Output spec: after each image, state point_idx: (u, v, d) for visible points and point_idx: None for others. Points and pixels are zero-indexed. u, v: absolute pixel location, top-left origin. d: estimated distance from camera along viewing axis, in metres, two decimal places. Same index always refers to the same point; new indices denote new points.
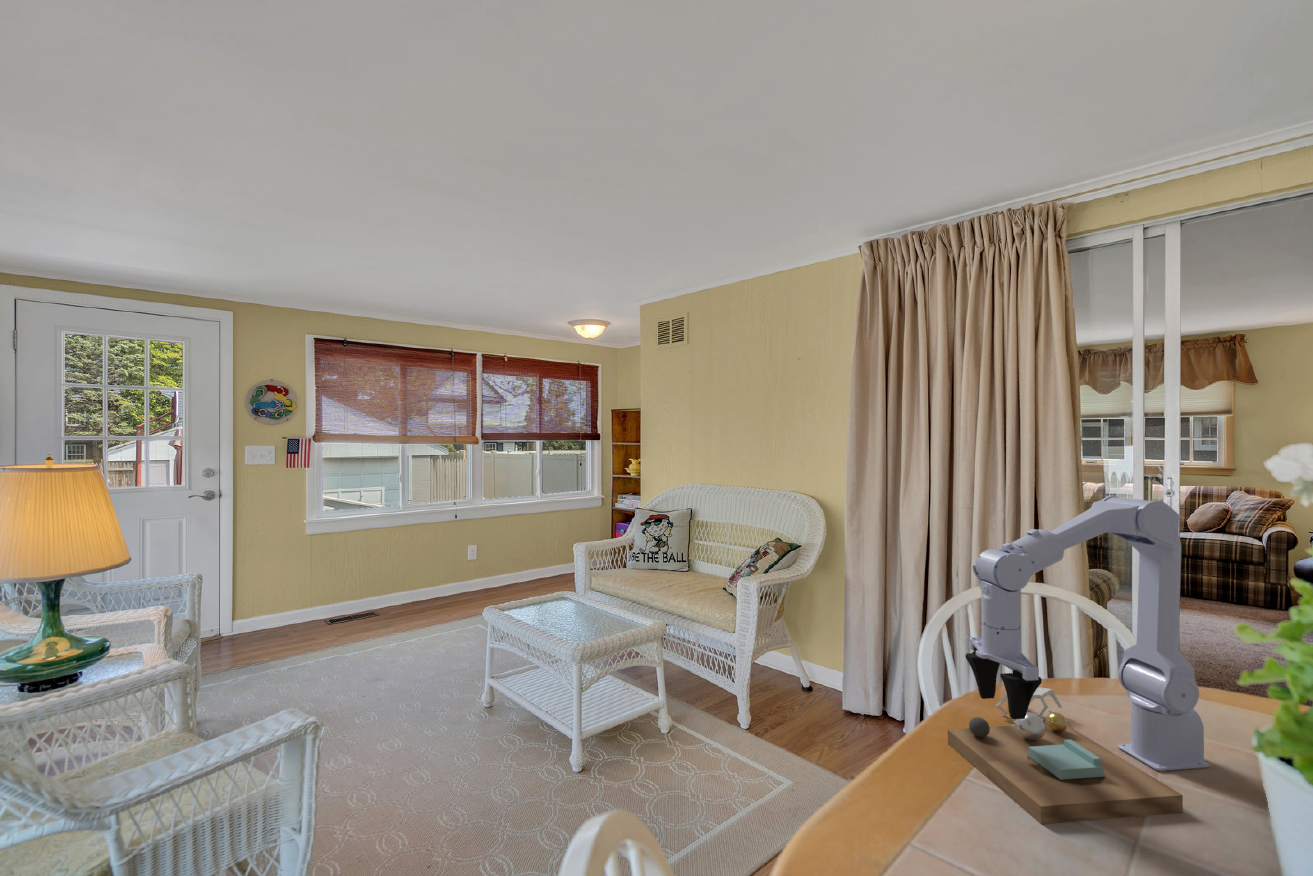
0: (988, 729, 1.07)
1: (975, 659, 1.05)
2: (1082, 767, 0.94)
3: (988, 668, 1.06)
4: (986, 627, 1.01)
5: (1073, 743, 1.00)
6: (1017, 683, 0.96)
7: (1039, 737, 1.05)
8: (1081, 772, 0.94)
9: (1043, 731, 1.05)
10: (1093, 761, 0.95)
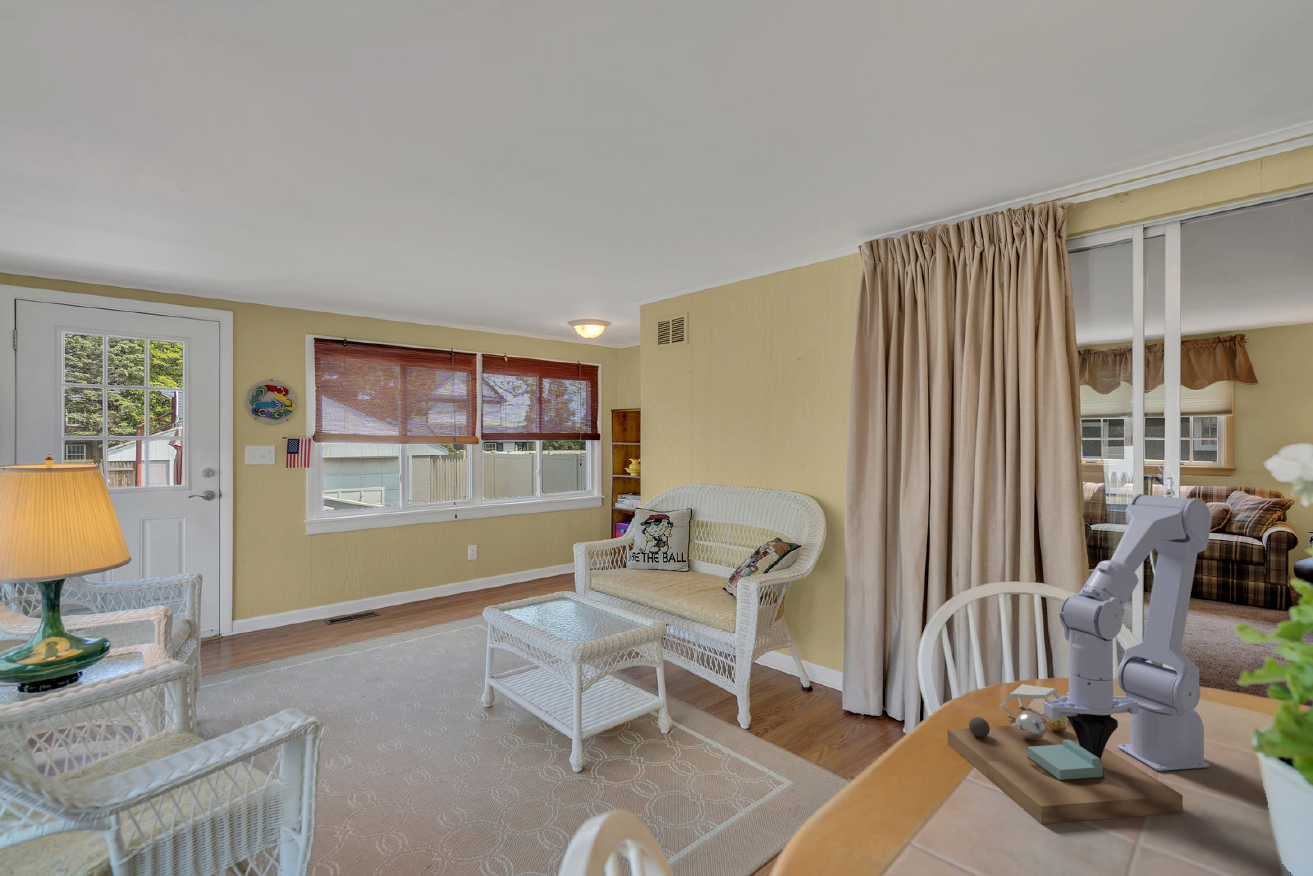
0: (988, 729, 1.07)
1: None
2: (1081, 767, 0.94)
3: None
4: None
5: (1072, 743, 1.00)
6: (1068, 715, 0.99)
7: (1039, 737, 1.05)
8: (1080, 772, 0.94)
9: (1043, 731, 1.05)
10: (1092, 761, 0.95)
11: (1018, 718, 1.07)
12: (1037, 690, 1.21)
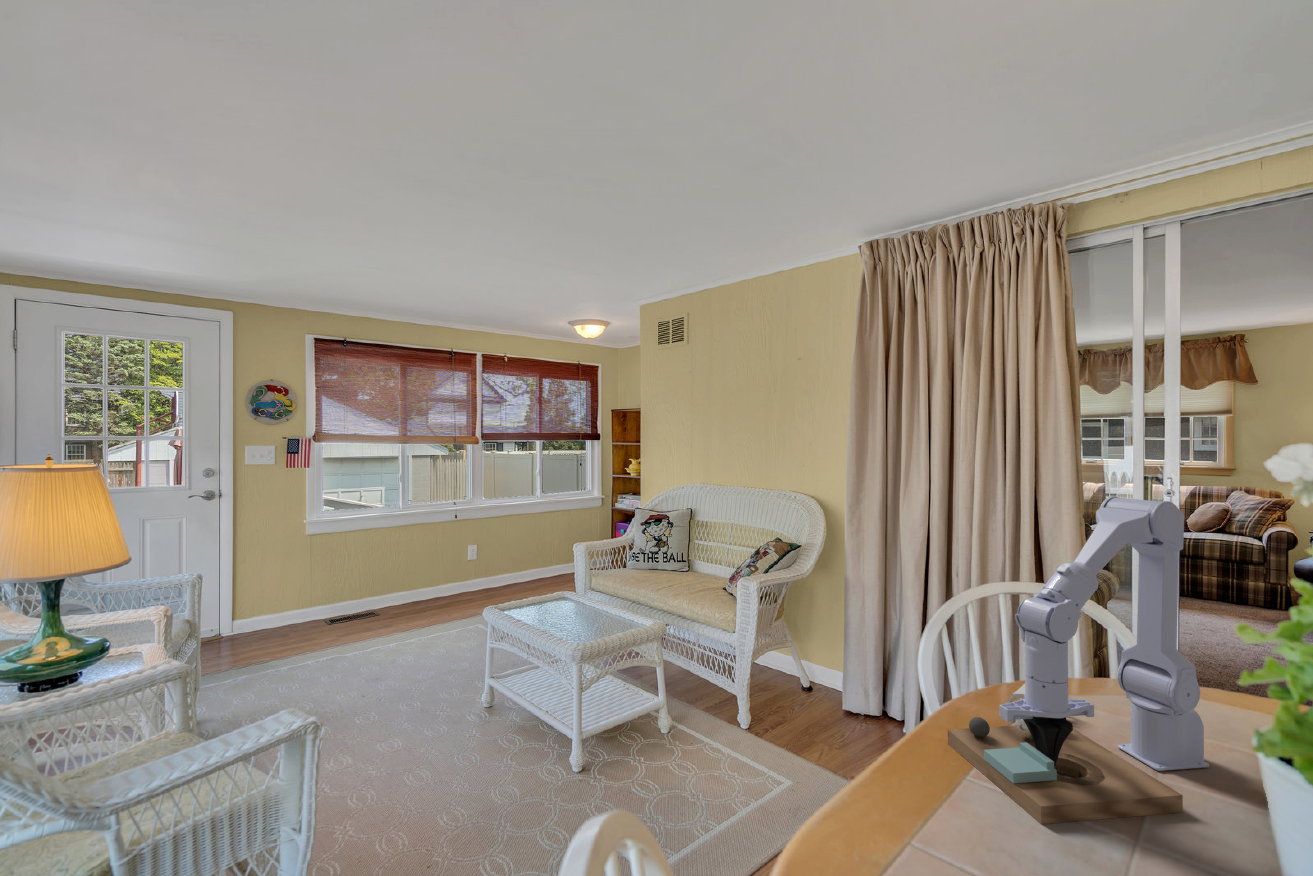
0: (988, 729, 1.07)
1: None
2: (1035, 771, 0.94)
3: None
4: None
5: (1028, 746, 0.99)
6: (1024, 718, 0.99)
7: None
8: (1034, 776, 0.93)
9: None
10: (1046, 764, 0.94)
11: None
12: None
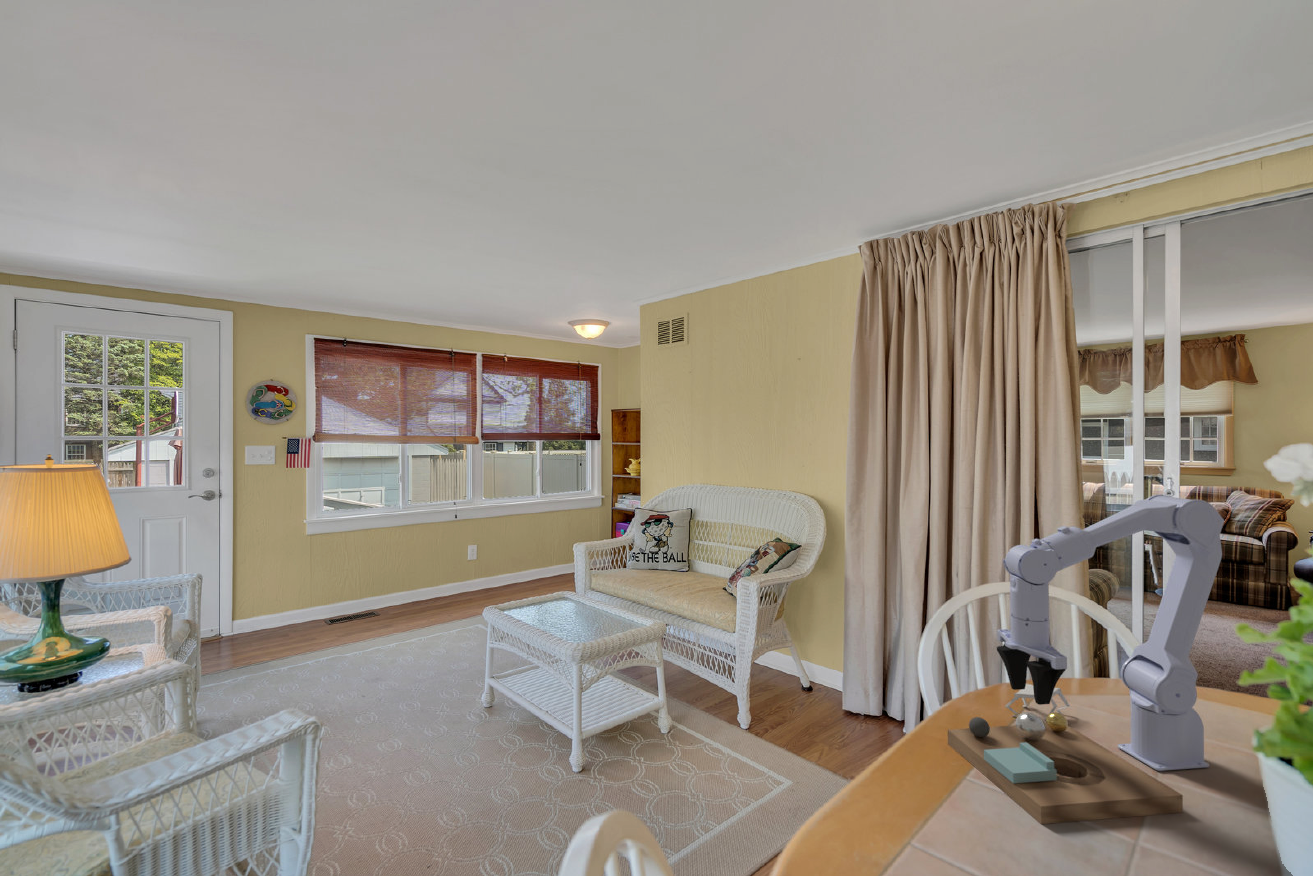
0: (988, 729, 1.07)
1: (1007, 651, 1.09)
2: (1035, 771, 0.94)
3: (1019, 660, 1.10)
4: (1015, 619, 1.06)
5: (1028, 746, 0.99)
6: (1043, 670, 1.01)
7: (1039, 737, 1.05)
8: (1034, 776, 0.93)
9: (1043, 731, 1.05)
10: (1046, 764, 0.94)
11: (1018, 718, 1.07)
12: None
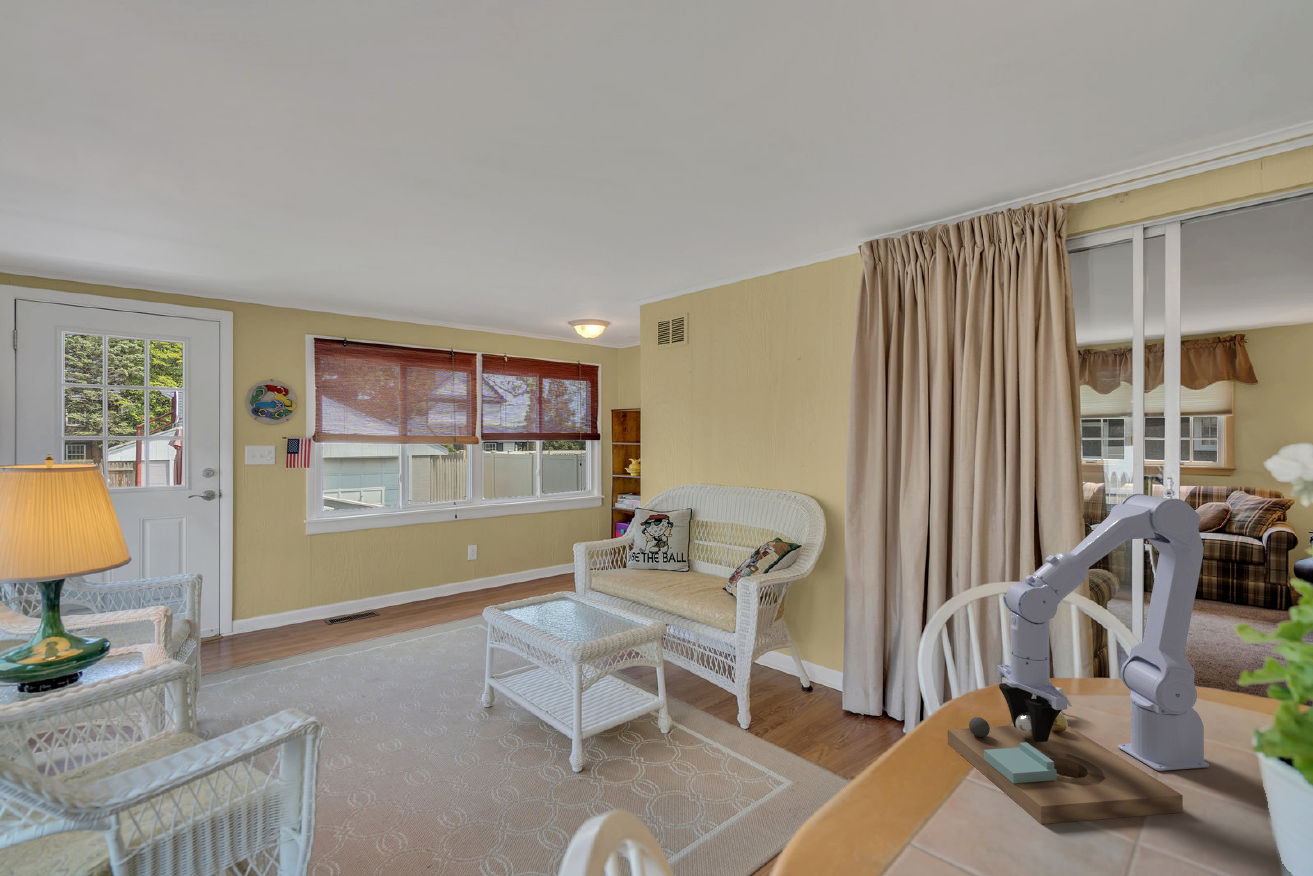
0: (988, 729, 1.07)
1: (1009, 690, 1.09)
2: (1035, 771, 0.94)
3: (1021, 698, 1.09)
4: (1015, 657, 1.06)
5: (1028, 746, 0.99)
6: (1041, 708, 1.02)
7: None
8: (1034, 776, 0.93)
9: None
10: (1046, 764, 0.94)
11: (1018, 718, 1.07)
12: None
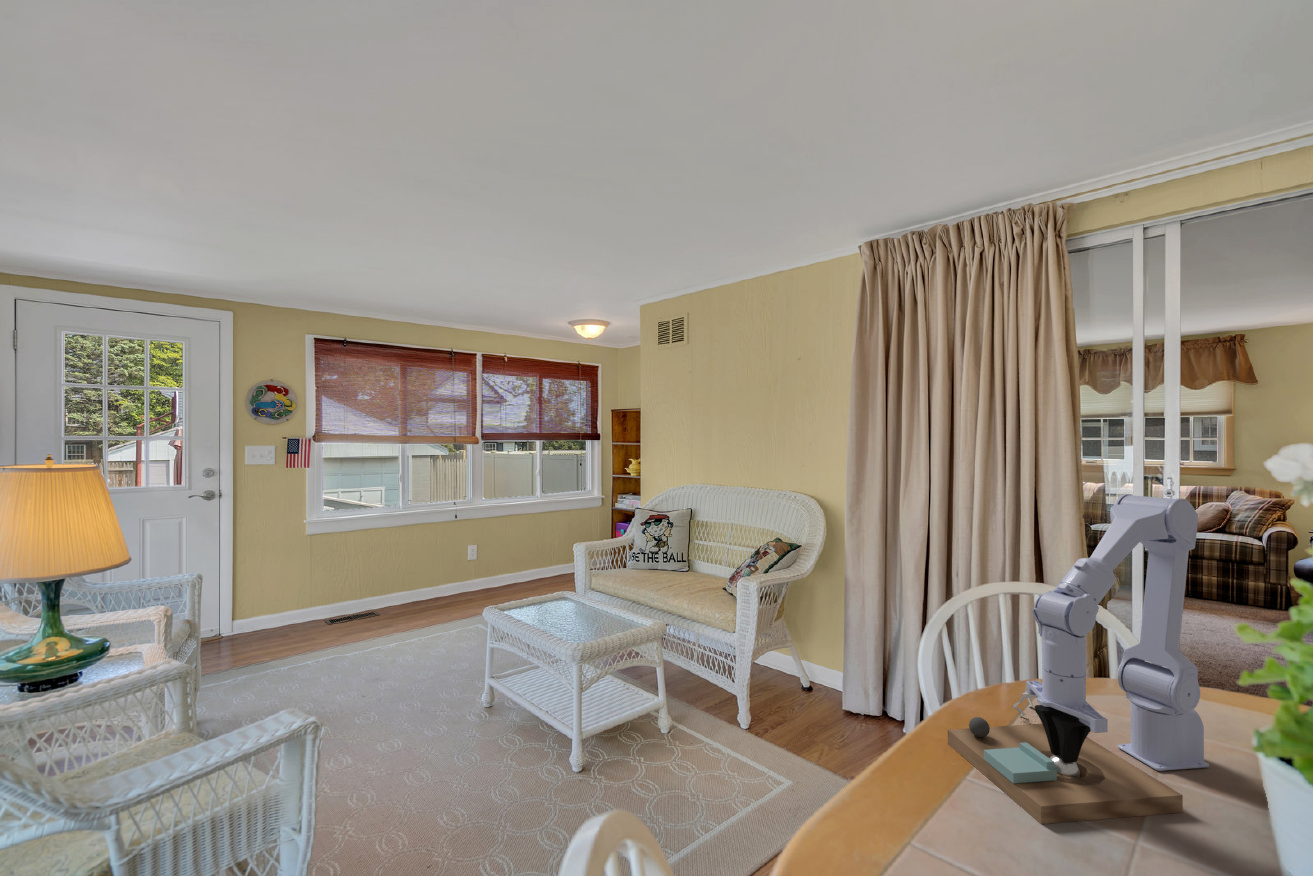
0: (988, 729, 1.07)
1: (1046, 712, 0.98)
2: (1035, 771, 0.94)
3: None
4: (1048, 673, 0.97)
5: (1028, 746, 0.99)
6: (1070, 726, 0.94)
7: None
8: (1034, 776, 0.93)
9: None
10: (1046, 764, 0.94)
11: None
12: None
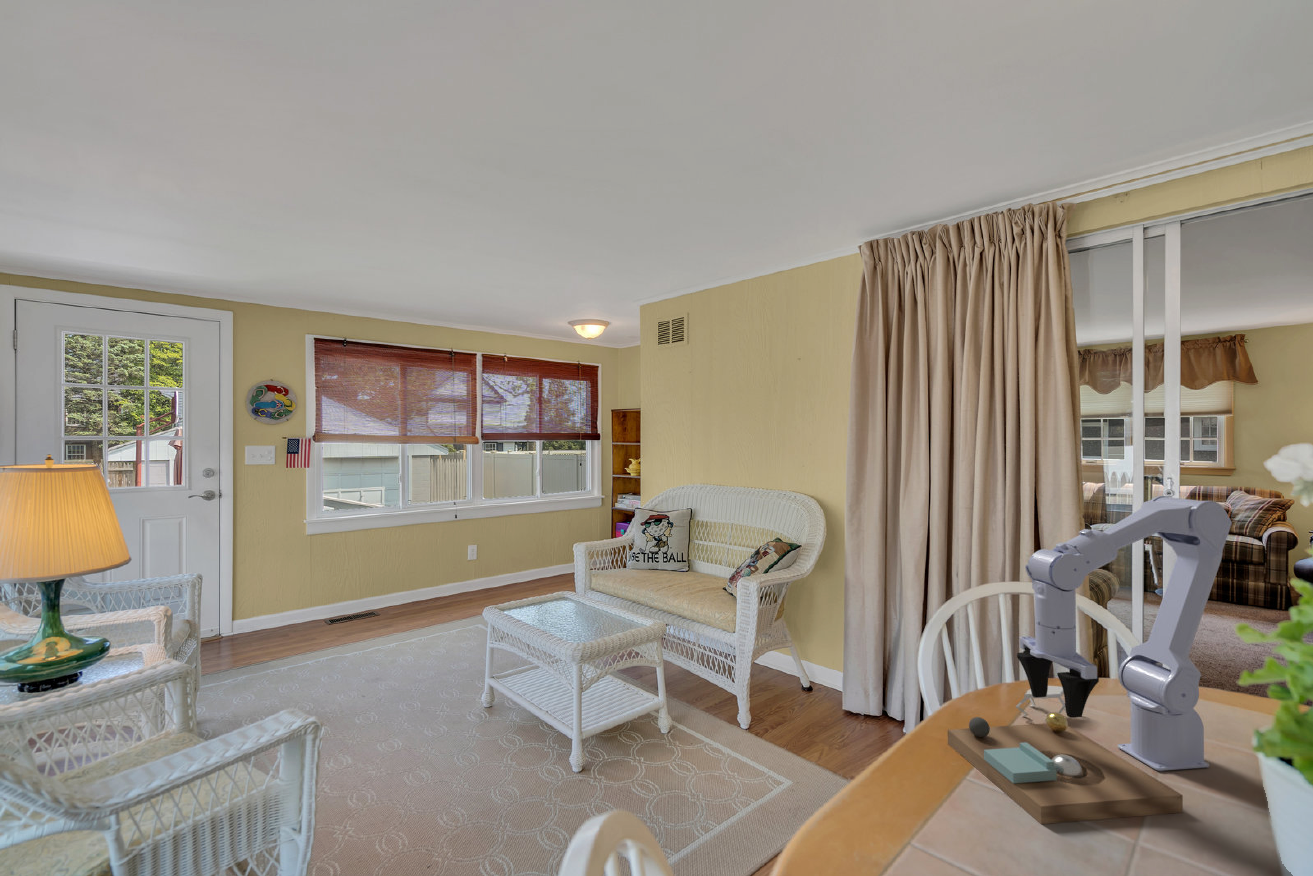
0: (988, 729, 1.07)
1: (1028, 658, 1.06)
2: (1035, 771, 0.94)
3: (1040, 667, 1.07)
4: (1041, 626, 1.02)
5: (1028, 746, 0.99)
6: (1075, 682, 0.97)
7: None
8: (1034, 776, 0.93)
9: None
10: (1046, 764, 0.94)
11: None
12: (1050, 689, 1.22)
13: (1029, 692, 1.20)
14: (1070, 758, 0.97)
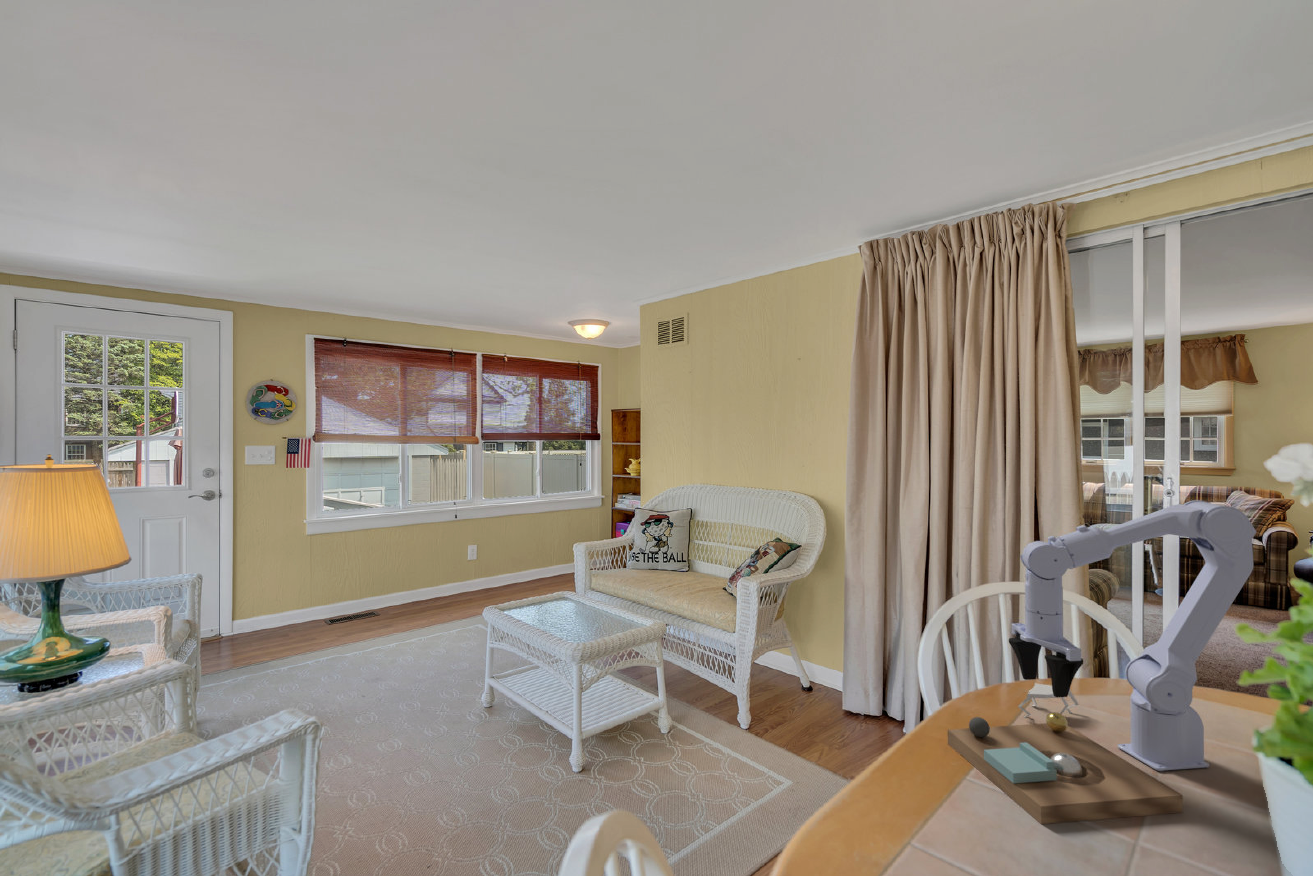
0: (988, 729, 1.07)
1: (1018, 643, 1.14)
2: (1035, 771, 0.94)
3: (1030, 651, 1.14)
4: (1030, 613, 1.10)
5: (1028, 746, 0.99)
6: (1061, 663, 1.04)
7: None
8: (1034, 776, 0.93)
9: None
10: (1046, 764, 0.94)
11: (1059, 770, 0.97)
12: None
13: (1031, 692, 1.20)
14: (1069, 755, 0.98)
